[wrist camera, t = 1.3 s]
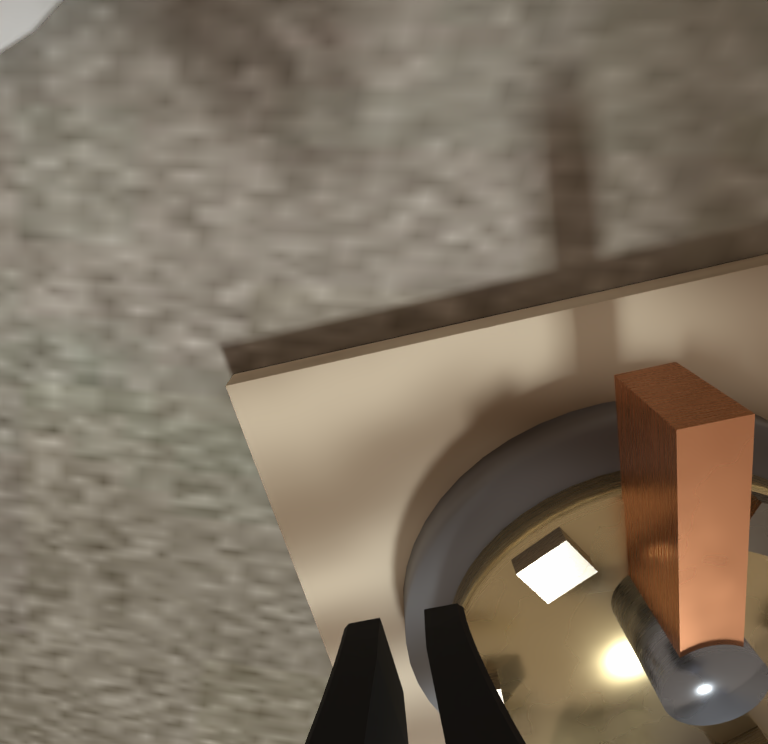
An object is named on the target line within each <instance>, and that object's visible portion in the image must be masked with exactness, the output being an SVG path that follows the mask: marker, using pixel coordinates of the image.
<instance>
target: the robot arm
mask: <svg viewBox="0 0 768 744" xmlns="http://www.w3.org/2000/svg"><path fill="white" fill-rule="evenodd" d="M424 620H425V637H426V649H427V654H428V659H429V664H430V669H431V674H432V679H433V684H434V689H435V694H436V699H437V704H438V709H439V714H440V719H441V724H442V728H443V733H444V738H445V743H446V744H526V743H525V741H524V739H523V738H522V736H521V734H520V732H519V731H518V729H517V727H516V725H515V723H514V722H513V720H512V718H511V716H510V714H509V712H508V710H507V709H506V707H505V705H504V703H503V701H502V699H501V697H500V695H499V694H498V692H497V690H496V688H495V686H494V684H493V682H492V680H491V678H490V676H489V674H488V672H487V669H486V667H485V665H484V663H483V661H482V658H481V656H480V654H479V652H478V649H477V647H476V644H475V642H474V640H473V637H472V634H471V632H470V629H469V626H468V623H467V619H466V616H465V612H464V607H462V606H461V605H459V604H457V603H456V604H450V605H445V606H439V607H434V608H429V609H424ZM305 744H409V743H408V732H407V721H406V711H405V702H404V692H403V689H402V685H401V682H400V679H399V676H398V673H397V669H396V666H395V663H394V660H393V657H392V654H391V650H390V647H389V644H388V641H387V638H386V635H385V631H384V628H383V625H382V622H381V619H380V618H375V619H370V620H365V621H359V622H354V623H349V624H348V625H347V626H346V627H345V629H344V632H343V635H342V639H341V642H340V646H339V649H338V652H337V656H336V659H335V662H334V665H333V668H332V671H331V674H330V677H329V680H328V683H327V686H326V689H325V692H324V695H323V697H322V700H321V703H320V706H319V708H318V711H317V714H316V716H315V719H314V721H313V724H312V727H311V729H310V732H309V734H308V737H307V740H306V742H305Z"/></svg>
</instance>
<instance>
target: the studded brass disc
mask: <svg viewBox="0 0 768 744" xmlns="http://www.w3.org/2000/svg"><path fill="white" fill-rule="evenodd" d="M614 381H615V397H616V412H617V427H618V443H619V458H620V471H616V472H612V473H608V474H604V475H601V476H598V477H595V478H592V479H590V480H587V481H584V482H582V483H579V484H576V485H573V486H571V487H569V488H567V489H565V490H563V491H561V492H559V493H557V494H555V495H553V496H551V497H549V498H547V499H545V500H543V501H542V502H540V503H539V504H537V505H536V506H534V507H532V508H531V509H529V510H528V511H526V512H524V513H523V514H522V515H520V516H519V517H518V518H517V519H515V520H514V521H513V522H512V523H510V524H509V525H508V526H507V527H505V528H504V529H503V530H502V531H501V532H500V533H499V534H498V535H497V536H496V537H495V538H494V539H493V540H492V541H491V542H490V543H489V544H488V545H487V546H486V547H485V548H484V549H483V550H482V552H481V553H480V554H479V556H478V557H477V558H476V559H475V561H474V562H473V563H472V565H471V566H470V567H469V569H468V571H467V573H466V574H465V576H464V578H463V580H462V582H461V583H460V585H459V587H458V589H457V592H456V595H455V597H454V600H453V603H452V604H456V603H457V604H459V605H461V606H462V607H464V612H465V616H466V619H467V623H468V626H469V629H470V632H471V634H472V637H473V640H474V642H475V644H476V647H477V649H478V652H479V654H480V656H481V658H482V661H483V663H484V665H485V667H486V669H487V672H488V674H489V676H490V678H491V680H492V682H493V684H494V686H495V688H496V690H497V692H498V694H499V695H500V697H501V699H502V701H503V703H504V705H505V707H506V709H507V710H508V712H509V714H510V716H511V718H512V720H513V722H514V723H515V725H516V727H517V729H518V731H519V732H520V734H521V736H522V738H523V739H524V741H525V743H526V744H768V480H767V479H765V478H762V477H759V476H756V475H754V474H752V466H753V445H754V425H755V413H753V412H751V411H750V410H748V409H747V408H745V407H744V406H742V405H741V404H739V403H738V402H736V401H735V400H733V399H732V398H730V397H729V396H727V395H726V394H724V393H723V392H721V391H720V390H718V389H716V388H715V387H713V386H712V385H710V384H709V383H707V382H706V381H704V380H703V379H701V378H700V377H698V376H697V375H695V374H694V373H692V372H691V371H689V370H688V369H686V368H685V367H683V366H681V365H680V364H678V363H677V362H672V363H668V364H663V365H658V366H654V367H649V368H644V369H640V370H635V371H630V372H626V373H621V374H616V375H614Z"/></svg>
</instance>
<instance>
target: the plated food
mask: <svg viewBox="0 0 768 744" xmlns="http://www.w3.org/2000/svg"><path fill="white" fill-rule="evenodd" d="M63 1H64V0H0V54H1V53H3V52H4V51H6V50H7V49H9V48H11V47H12V46H14V45H15V44H17V43H18V42H20V41H21V40H23V39H25V38H26V37H28V36H29V35H31V34H32V33H34V32H35V31H36V30H37V29H38V28H39V27H40V26H41V25H42V24H43V23H44V21H45V20H46V19H47V18H48V17H49V16H50V15H51V14H52V13H53V12H54V11H55V10H56V8H57V7H58V6H59V5H60V4H61V3H62V2H63Z"/></svg>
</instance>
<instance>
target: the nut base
mask: <svg viewBox="0 0 768 744" xmlns="http://www.w3.org/2000/svg"><path fill="white" fill-rule="evenodd" d="M672 362H677V363H678V364H680V365H681V366H683V367H685V368H686V369H688V370H689V371H691V372H692V373H694V374H695V375H697V376H698V377H700V378H701V379H703V380H704V381H706V382H707V383H709V384H710V385H712V386H713V387H715V388H716V389H718V390H720V391H721V392H723V393H724V394H726V395H727V396H729V397H730V398H732V399H733V400H735V401H736V402H738V403H739V404H741V405H742V406H744V407H745V408H747V409H748V410H750V411H751V412H753V413H755V425H754V445H753V466H752V474H754V475H756V476H759V477H762V478H765V479H767V480H768V254H765V255H761V256H757V257H752V258H748V259H743V260H739V261H734V262H730V263H725V264H721V265H717V266H712V267H708V268H703V269H699V270H694V271H690V272H686V273H681V274H677V275H672V276H668V277H663V278H659V279H654V280H650V281H646V282H641V283H637V284H632V285H628V286H623V287H619V288H614V289H610V290H606V291H601V292H597V293H592V294H588V295H583V296H579V297H575V298H570V299H566V300H561V301H557V302H552V303H548V304H543V305H539V306H535V307H530V308H526V309H521V310H517V311H512V312H508V313H503V314H499V315H495V316H490V317H486V318H481V319H477V320H472V321H468V322H464V323H459V324H455V325H450V326H446V327H441V328H437V329H432V330H428V331H424V332H419V333H415V334H410V335H406V336H401V337H397V338H393V339H388V340H384V341H379V342H375V343H370V344H366V345H361V346H357V347H353V348H348V349H344V350H339V351H335V352H330V353H326V354H321V355H317V356H313V357H308V358H304V359H299V360H295V361H290V362H286V363H282V364H277V365H273V366H268V367H264V368H259V369H255V370H250V371H246V372H242V373H237V374H233V376H232V377H231V379H230V380H229V382H228V383H227V385H226V388H227V391H228V394H229V396H230V399H231V402H232V404H233V407H234V409H235V412H236V415H237V417H238V420H239V423H240V425H241V428H242V430H243V433H244V436H245V438H246V441H247V443H248V446H249V449H250V451H251V454H252V457H253V459H254V462H255V464H256V467H257V470H258V472H259V475H260V478H261V480H262V483H263V485H264V488H265V491H266V493H267V496H268V499H269V501H270V504H271V506H272V509H273V512H274V514H275V517H276V519H277V522H278V525H279V527H280V530H281V533H282V535H283V538H284V540H285V543H286V546H287V548H288V551H289V554H290V556H291V559H292V561H293V564H294V567H295V569H296V572H297V575H298V577H299V580H300V582H301V585H302V588H303V590H304V593H305V596H306V598H307V601H308V603H309V606H310V609H311V611H312V614H313V616H314V619H315V622H316V624H317V627H318V630H319V632H320V635H321V637H322V640H323V643H324V645H325V648H326V651H327V653H328V656H329V658H330V661H331V664H332V666H333V665H334V662H335V659H336V656H337V652H338V649H339V646H340V642H341V639H342V635H343V632H344V629H345V627H346V626H347V625H348V624H349V623H354V622H359V621H365V620H370V619H375V618H380V619H381V622H382V625H383V628H384V631H385V635H386V638H387V641H388V644H389V647H390V650H391V654H392V657H393V660H394V663H395V666H396V669H397V673H398V676H399V679H400V682H401V685H402V689H403V692H404V702H405V711H406V721H407V732H408V743H409V744H446V743H445V738H444V733H443V728H442V724H441V719H440V714H439V709H438V704H437V699H436V694H435V689H434V684H433V679H432V674H431V669H430V664H429V659H428V654H427V649H426V637H425V620H424V609H429V608H434V607H439V606H445V605H450V604H452V603H453V600H454V597H455V595H456V592H457V589H458V587H459V585H460V583H461V582H462V580H463V578H464V576H465V574H466V573H467V571H468V569H469V567H470V566H471V565H472V563H473V562H474V561H475V559H476V558H477V557H478V556H479V554H480V553H481V552H482V550H483V549H484V548H485V547H486V546H487V545H488V544H489V543H490V542H491V541H492V540H493V539H494V538H495V537H496V536H497V535H498V534H499V533H500V532H501V531H502V530H503V529H504V528H505V527H507V526H508V525H509V524H510V523H512V522H513V521H514V520H515V519H517V518H518V517H519V516H520V515H522V514H523V513H524V512H526V511H528V510H529V509H531V508H532V507H534V506H536V505H537V504H539V503H540V502H542V501H543V500H545V499H547V498H549V497H551V496H553V495H555V494H557V493H559V492H561V491H563V490H565V489H567V488H569V487H571V486H573V485H576V484H579V483H582V482H584V481H587V480H590V479H592V478H595V477H598V476H601V475H604V474H608V473H612V472H616V471H620V458H619V443H618V427H617V412H616V397H615V381H614V375H616V374H621V373H626V372H630V371H635V370H640V369H644V368H649V367H654V366H658V365H663V364H668V363H672Z"/></svg>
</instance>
